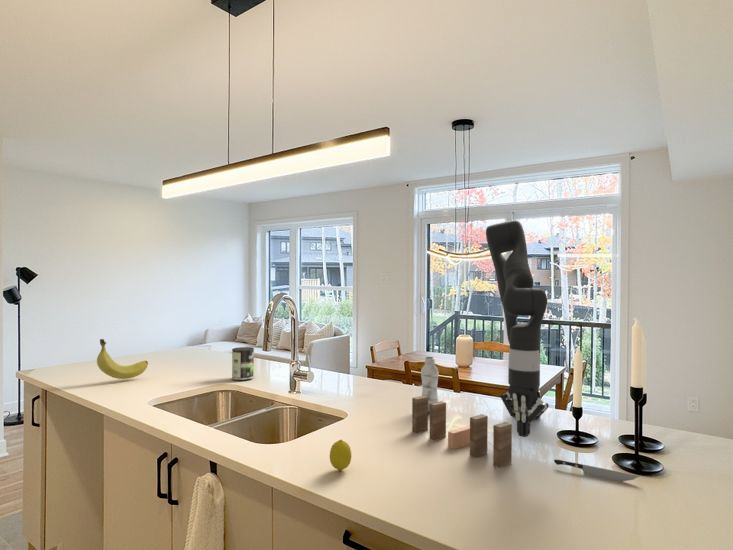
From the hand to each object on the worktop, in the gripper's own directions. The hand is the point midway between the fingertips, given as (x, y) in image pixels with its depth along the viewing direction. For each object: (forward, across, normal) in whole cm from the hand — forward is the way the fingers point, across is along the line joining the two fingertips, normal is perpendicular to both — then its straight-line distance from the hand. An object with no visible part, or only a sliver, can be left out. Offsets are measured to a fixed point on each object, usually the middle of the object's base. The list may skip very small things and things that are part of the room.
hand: (523, 435), depth 113 cm
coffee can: (+10, +144, +20) cm, 146 cm away
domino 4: (+10, +14, 0) cm, 18 cm away
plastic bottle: (+10, +52, -17) cm, 56 cm away
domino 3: (+8, +23, +2) cm, 24 cm away
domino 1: (+10, +38, 0) cm, 40 cm away
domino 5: (+10, +6, 0) cm, 12 cm away
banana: (+10, +172, +68) cm, 185 cm away
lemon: (+10, +28, +36) cm, 47 cm away
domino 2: (+10, +30, 0) cm, 32 cm away
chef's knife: (+10, -11, -13) cm, 20 cm away
